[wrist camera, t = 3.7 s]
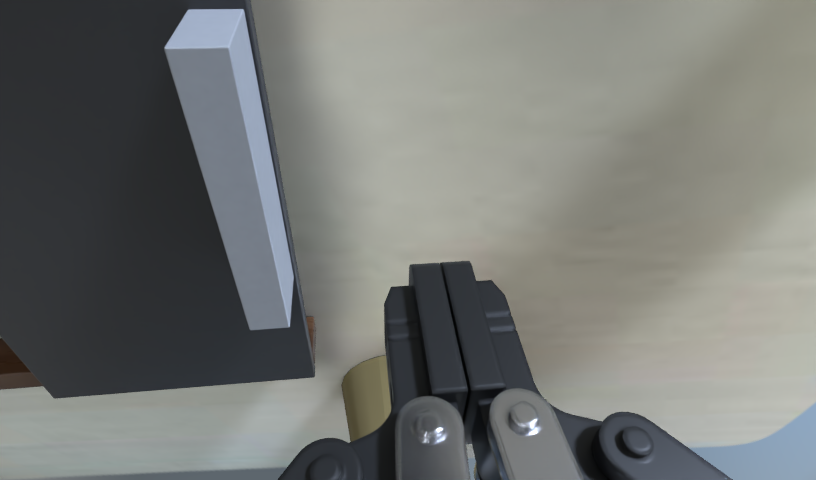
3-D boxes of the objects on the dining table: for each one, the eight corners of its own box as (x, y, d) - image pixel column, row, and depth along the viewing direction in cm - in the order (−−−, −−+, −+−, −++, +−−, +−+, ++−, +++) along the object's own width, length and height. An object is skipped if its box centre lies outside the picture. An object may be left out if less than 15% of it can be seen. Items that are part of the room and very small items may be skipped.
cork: (432, 406, 33) (464, 605, 25) (341, 410, 32) (344, 618, 24) (445, 352, 29) (488, 569, 21) (341, 356, 28) (345, 584, 20)
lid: (-698, -524, 7) (-1174, -666, 5) (171, -456, 8) (111, -542, 6) (58, 387, 24) (29, 451, 21) (315, 367, 25) (313, 426, 23)
